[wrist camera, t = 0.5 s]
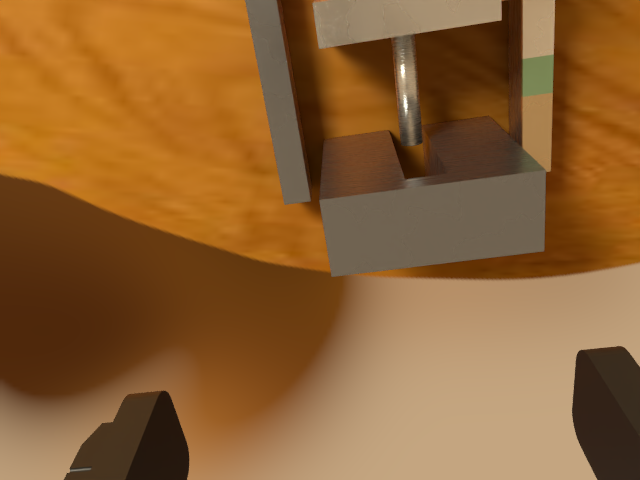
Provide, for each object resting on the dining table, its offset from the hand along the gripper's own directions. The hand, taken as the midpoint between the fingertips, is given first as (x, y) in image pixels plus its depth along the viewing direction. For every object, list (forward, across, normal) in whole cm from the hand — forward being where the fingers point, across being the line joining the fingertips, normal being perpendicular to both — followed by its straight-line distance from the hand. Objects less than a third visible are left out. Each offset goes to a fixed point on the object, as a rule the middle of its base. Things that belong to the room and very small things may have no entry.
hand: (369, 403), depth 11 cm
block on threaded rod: (+25, -5, -2) cm, 25 cm away
